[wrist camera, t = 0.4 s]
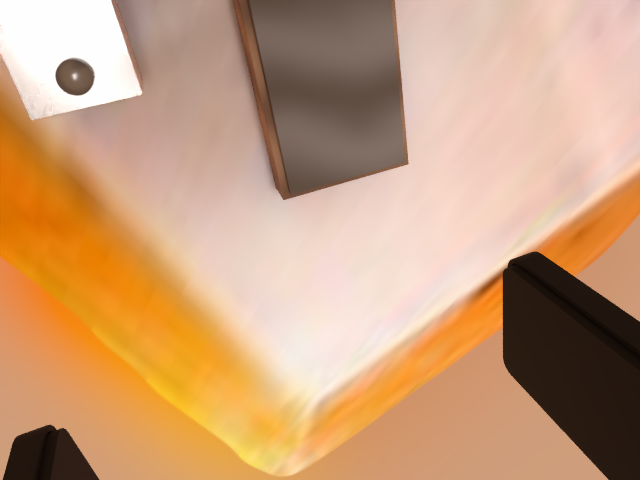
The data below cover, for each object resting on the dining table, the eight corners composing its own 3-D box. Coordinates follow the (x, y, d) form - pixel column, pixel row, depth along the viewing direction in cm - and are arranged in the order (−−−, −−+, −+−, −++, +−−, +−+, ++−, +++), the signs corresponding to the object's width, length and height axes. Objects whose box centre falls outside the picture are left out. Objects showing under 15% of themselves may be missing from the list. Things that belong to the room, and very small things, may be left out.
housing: (-35, -86, 27) (-75, -100, 22) (81, -104, 28) (68, -122, 23) (46, 100, 32) (29, 123, 27) (142, 78, 33) (142, 96, 28)
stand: (230, -12, 32) (237, -11, 30) (376, -42, 34) (394, -43, 31) (276, 188, 39) (285, 203, 37) (395, 154, 41) (411, 166, 38)
